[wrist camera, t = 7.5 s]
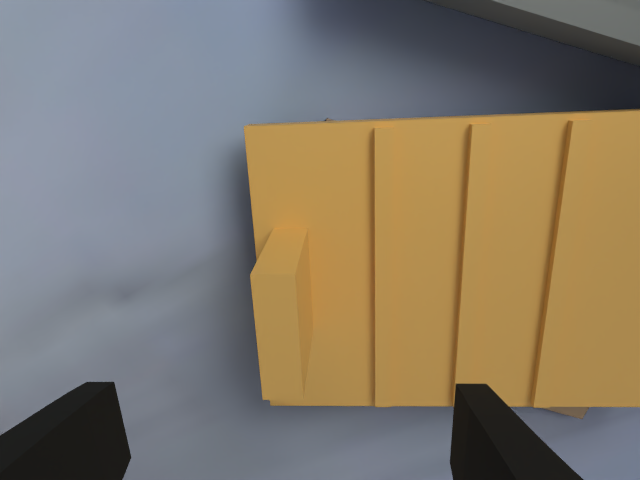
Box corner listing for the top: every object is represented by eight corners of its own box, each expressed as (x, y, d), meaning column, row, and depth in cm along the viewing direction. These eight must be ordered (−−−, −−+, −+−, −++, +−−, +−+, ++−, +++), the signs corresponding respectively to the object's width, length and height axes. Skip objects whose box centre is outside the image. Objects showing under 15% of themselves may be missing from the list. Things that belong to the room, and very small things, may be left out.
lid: (697, 104, 15) (883, 116, 10) (635, 382, 19) (747, 498, 13) (253, 122, 16) (207, 141, 11) (275, 382, 20) (250, 490, 14)
